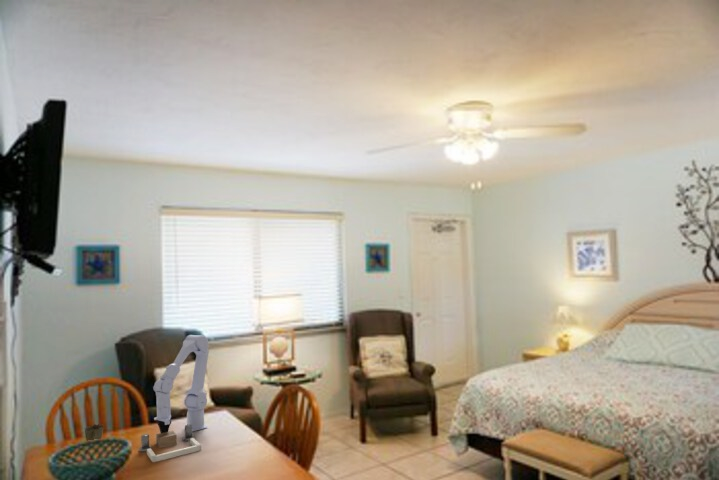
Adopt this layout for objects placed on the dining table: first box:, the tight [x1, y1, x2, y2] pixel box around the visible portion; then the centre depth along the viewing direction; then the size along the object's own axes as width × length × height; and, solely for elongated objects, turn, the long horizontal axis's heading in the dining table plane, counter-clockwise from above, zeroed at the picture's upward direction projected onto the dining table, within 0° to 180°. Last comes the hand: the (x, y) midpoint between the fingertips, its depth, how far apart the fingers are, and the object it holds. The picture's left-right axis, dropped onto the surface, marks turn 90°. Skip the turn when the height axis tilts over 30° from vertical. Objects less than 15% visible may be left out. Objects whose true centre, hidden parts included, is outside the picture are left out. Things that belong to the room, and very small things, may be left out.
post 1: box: [138, 433, 153, 453], centre depth 202 cm, size 5×5×6 cm
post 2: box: [182, 424, 196, 442], centre depth 212 cm, size 5×5×6 cm
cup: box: [84, 423, 104, 442], centre depth 211 cm, size 8×7×8 cm
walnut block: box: [155, 430, 178, 449], centre depth 208 cm, size 7×7×4 cm
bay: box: [146, 438, 202, 463], centre depth 197 cm, size 12×19×2 cm, turn 124°
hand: (164, 437), depth 212 cm, fingers closed
